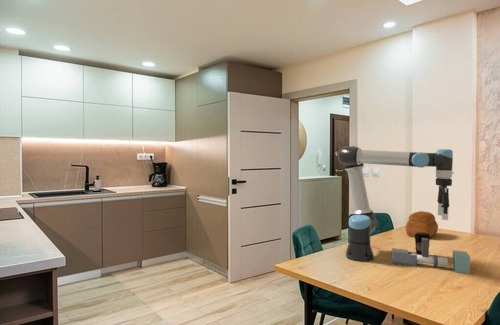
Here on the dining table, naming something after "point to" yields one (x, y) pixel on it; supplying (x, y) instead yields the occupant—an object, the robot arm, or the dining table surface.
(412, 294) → the dining table surface
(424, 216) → the bread
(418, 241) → the coffee cup
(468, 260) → the socket
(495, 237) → the dining table surface
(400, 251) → the sleeve
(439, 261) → the tube
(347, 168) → the robot arm
